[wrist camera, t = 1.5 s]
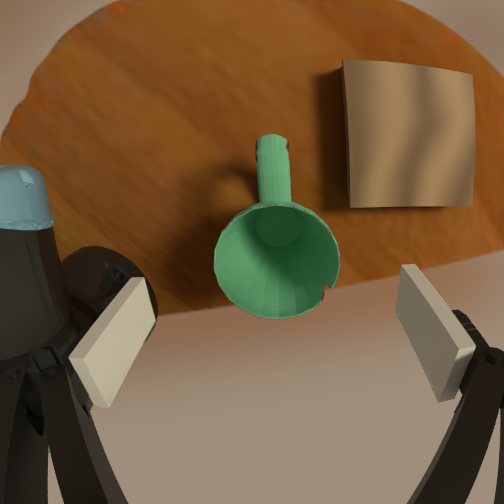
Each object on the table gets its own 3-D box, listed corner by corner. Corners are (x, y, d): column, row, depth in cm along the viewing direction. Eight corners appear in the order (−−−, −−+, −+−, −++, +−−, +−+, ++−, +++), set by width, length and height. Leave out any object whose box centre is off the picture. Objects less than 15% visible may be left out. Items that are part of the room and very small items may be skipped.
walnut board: (344, 200, 32) (350, 207, 29) (337, 64, 27) (342, 59, 24) (459, 199, 30) (471, 206, 28) (458, 76, 25) (472, 74, 22)
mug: (324, 266, 35) (337, 317, 26) (236, 269, 36) (220, 320, 27) (322, 129, 29) (340, 133, 20) (222, 135, 30) (197, 141, 21)
